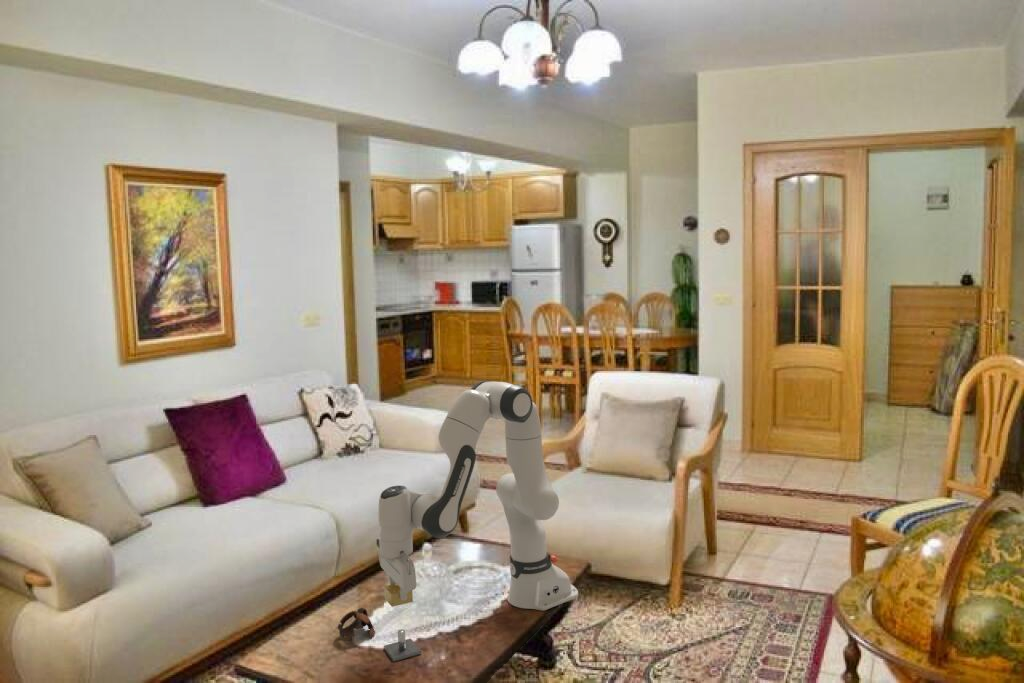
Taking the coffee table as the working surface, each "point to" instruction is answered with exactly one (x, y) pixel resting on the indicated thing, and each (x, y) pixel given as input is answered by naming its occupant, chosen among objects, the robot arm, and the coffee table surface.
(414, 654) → the post
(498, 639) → the coffee table surface
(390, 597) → the wooden square frame
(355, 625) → the pottery mug
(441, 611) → the coffee table surface
